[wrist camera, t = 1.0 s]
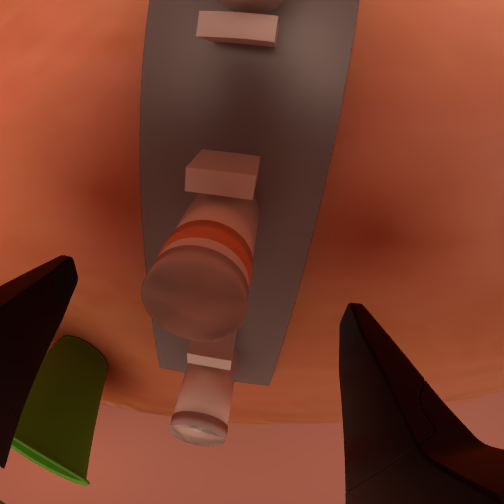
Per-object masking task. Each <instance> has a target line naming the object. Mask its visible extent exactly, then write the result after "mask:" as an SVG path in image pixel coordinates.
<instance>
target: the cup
mask: <svg viewBox="0 0 504 504" xmlns="http://www.w3.org/2000/svg"><path fill="white" fill-rule="evenodd" d="M106 375H107V362H106V360H105V358H104V357H103V356H102V354H101V353H100V352H99V351H98V350H97V349H95V348H94V347H93V346H92V345H90V344H88V343H87V342H85V341H83V340H81V339H79V338H76V337H72V336H65V337H63V338H62V339H59V340H58V341H57V342H56V343H55V344H54V345H53V346H52V348H51V349H50V350H49V351H48V352H47V353H46V355H45V357H44V359H43V362H42V364H41V366H40V369H39V371H38V373H37V376H36V378H35V380H34V383H33V385H32V388H31V390H30V393H29V395H28V398H27V401H26V403H25V406H24V409H23V411H22V414H21V417H20V420H19V423H18V426H17V429H16V432H15V435H14V438H13V441H12V445H11V448H13V449H14V450H16V451H17V452H19V453H20V454H22V455H23V456H25V457H26V458H28V459H29V460H31V461H33V462H34V463H36V464H38V465H39V466H41V467H43V468H45V469H47V470H49V471H51V472H53V473H55V474H57V475H59V476H61V477H63V478H65V479H67V480H70V481H72V482H75V483H78V484H81V485H84V486H87V485H89V484H90V482H89V481H87V479H86V476H87V469H88V463H89V456H90V451H91V445H92V440H93V434H94V429H95V424H96V419H97V414H98V409H99V405H100V400H101V396H102V391H103V387H104V383H105V379H106Z"/></svg>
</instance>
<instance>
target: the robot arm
mask: <svg viewBox="0 0 504 504" xmlns="http://www.w3.org/2000/svg"><path fill="white" fill-rule="evenodd" d="M77 281H78V275H77V271H76V267H75V263H74V260H73V258H72V257H69V256H65V255H61V256H59V257H57V258H55V259H53V260H51V261H49V262H47V263H45V264H43V265H41V266H39V267H37V268H35V269H33V270H31V271H29V272H27V273H25V274H23V275H21V276H19V277H17V278H15V279H13V280H11V281H9V282H7V283H5V284H4V285H2V286H0V466H1V467H2V468H4V467H5V465H6V462H7V458H8V455H9V451H10V448H11V445H12V441H13V438H14V435H15V432H16V429H17V426H18V423H19V420H20V417H21V414H22V411H23V409H24V406H25V403H26V401H27V398H28V395H29V393H30V390H31V388H32V385H33V383H34V380H35V378H36V376H37V373H38V371H39V369H40V366H41V364H42V362H43V359H44V357H45V355H46V353H47V350H48V348H49V346H50V344H51V342H52V340H53V338H54V336H55V333H56V331H57V329H58V327H59V325H60V323H61V321H62V319H63V316H64V314H65V312H66V309H67V307H68V304H69V301H70V299H71V297H72V294H73V292H74V289H75V287H76V285H77ZM339 378H340V389H341V402H342V416H343V429H344V430H343V432H344V452H345V481H346V482H345V483H346V504H504V450H503V449H499V448H495V447H491V446H488V445H486V444H484V443H482V442H481V441H480V440H478V439H477V438H476V437H475V436H474V435H473V434H472V433H471V432H470V431H469V430H468V428H467V427H466V426H465V425H464V424H463V423H462V422H461V421H460V420H459V419H458V418H457V417H456V416H455V414H454V413H453V412H452V411H451V410H450V409H449V408H448V407H447V406H446V405H445V403H444V402H443V401H442V400H441V399H440V398H439V396H438V395H437V394H436V393H435V392H434V390H433V389H432V388H431V387H430V385H429V384H428V383H427V382H426V381H424V378H423V377H422V375H421V374H420V373H419V372H418V370H417V369H416V368H415V367H414V365H413V364H412V363H411V362H410V361H409V359H408V358H407V357H406V356H405V354H404V353H403V352H402V351H401V350H400V348H399V347H398V346H397V345H396V343H395V342H394V341H393V340H392V339H391V337H390V336H389V335H388V334H387V333H386V332H385V330H384V329H383V328H382V327H381V326H380V324H379V323H378V322H377V321H376V320H375V319H374V317H373V316H372V315H371V314H370V313H369V312H368V310H367V309H366V308H365V307H364V306H363V305H362V304H358V303H349V304H348V306H347V308H346V310H345V313H344V315H343V317H342V320H341V323H340V339H339ZM0 504H5V503H3V502H2V501H0Z"/></svg>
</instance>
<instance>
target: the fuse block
mask: <svg viewBox="0 0 504 504" xmlns="http://www.w3.org/2000/svg"><path fill="white" fill-rule="evenodd" d="M358 3H359V0H286V1H285V2H284V3H283V4H282V5H281V6H280V7H278V8H277V9H275V10H273V11H270V12H267V13H264V14H255V13H243V12H234V11H232V10H230V9H228V8H226V7H225V6H224V5H222V4H221V3H220V2H219V1H218V0H149V8H148V15H147V24H146V33H145V43H144V54H143V67H142V82H141V104H140V186H141V209H142V226H143V240H144V252H145V263H146V273H147V274H148V272H149V271H150V269H151V267H152V265H153V263H154V262H155V260H156V259H157V257H158V255H159V253H160V251H161V250H162V248H163V246H164V244H165V243H166V241H167V239H168V238H169V236H170V235H171V233H172V232H173V231H174V230H175V229H176V227H177V225H178V224H179V222H180V220H181V219H182V217H183V215H184V214H185V212H186V210H187V209H188V207H189V205H190V204H191V202H192V201H193V199H194V197H195V196H196V194H197V193H204V194H211V195H219V196H226V197H234V198H241V199H248V200H253V196H254V197H255V199H256V201H257V203H258V206H259V221H258V228H257V234H256V240H255V247H254V253H253V270H252V276H251V283H250V288H249V296H248V303H247V310H246V316H245V320H244V322H243V324H242V326H241V327H240V328H239V329H238V330H237V331H236V332H235V333H234V334H232V335H231V336H229V337H227V338H224V339H221V340H217V341H208V342H202V341H193V340H188V339H185V338H182V337H179V336H177V335H174V334H172V333H170V332H169V331H167V330H165V329H164V328H162V327H161V326H160V325H159V324H158V323H156V322H155V321H154V320H153V318H152V322H153V329H154V335H155V342H156V348H157V354H158V360H159V365H160V367H162V368H166V369H171V370H176V371H180V372H185V371H186V368H187V364H188V363H192V364H197V365H202V366H208V367H213V368H219V369H225V370H231V364H232V358H233V352H234V348H235V349H236V350H237V352H238V361H237V368H236V374H235V380H234V381H236V382H243V383H250V384H258V385H266V386H269V385H270V382H271V379H272V376H273V373H274V369H275V366H276V363H277V360H278V357H279V353H280V350H281V347H282V344H283V340H284V337H285V334H286V330H287V327H288V324H289V320H290V317H291V313H292V310H293V306H294V303H295V299H296V296H297V292H298V289H299V285H300V281H301V278H302V274H303V270H304V266H305V263H306V259H307V255H308V251H309V247H310V244H311V240H312V236H313V232H314V228H315V224H316V220H317V216H318V212H319V207H320V203H321V199H322V195H323V191H324V186H325V182H326V178H327V173H328V169H329V164H330V160H331V155H332V150H333V146H334V141H335V136H336V131H337V127H338V122H339V117H340V111H341V106H342V101H343V96H344V90H345V85H346V80H347V74H348V68H349V62H350V56H351V50H352V44H353V38H354V31H355V25H356V18H357V11H358Z"/></svg>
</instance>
